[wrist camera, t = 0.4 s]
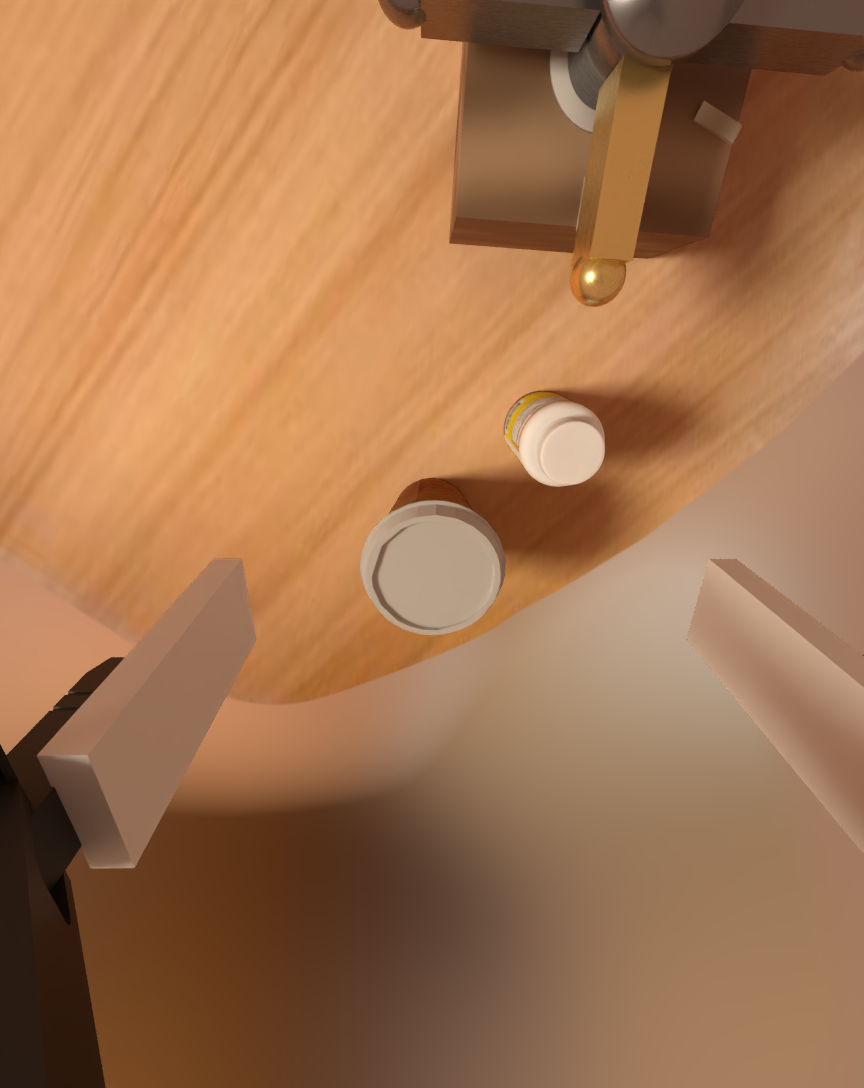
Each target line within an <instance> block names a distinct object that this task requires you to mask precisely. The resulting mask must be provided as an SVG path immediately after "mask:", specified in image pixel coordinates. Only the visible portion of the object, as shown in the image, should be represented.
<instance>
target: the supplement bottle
mask: <svg viewBox="0 0 864 1088" xmlns="http://www.w3.org/2000/svg"><path fill="white" fill-rule="evenodd" d="M504 437H505V440H506V443H507V445H508V447H509V448H510V450H511V451H512V452H513V454H514V455H515V456H516V458H517V459H518V460H519V462H520V463H521V464H522V466H523V467H524V468H525V470H526V471H527V472H528V473H529V474H530V475H531V476H532V477H533V478H534V479H536V480H537V481H539V482H540V483H543V484H545V485H549V486H556V487H560V486H567V485H575V484H579V483H582V482H584V481H586V480H588V479H589V478H591V477H592V476H593V475H594V474H595V473H596V472H597V471H598V469H599V468H600V466H601V464H602V462H603V460H604V456H605V435H604V430H603V427H602V424H601V422H600V420H599V419H598V417H597V416H596V415H595V414H594V413H593V412H592V411H591V410H590V409H588V408H587V407H585V406H583V405H581V404H579V403H576V402H574V401H572V400H569V399H567V398H564V397H562V396H560V395H557V394H555V393H552V392H548V391H535V392H531V393H528V394H526V395H524V396H522V397H521V398H519V399H518V400H517V401H516V402H515V403H514V404H513V405H512V406H511V408H510V409H509V411H508V413H507V415H506V418H505V422H504Z"/></svg>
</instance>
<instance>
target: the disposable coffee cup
mask: <svg viewBox="0 0 864 1088" xmlns="http://www.w3.org/2000/svg"><path fill="white" fill-rule="evenodd" d="M505 562H506V561H505V555H504V550H503V547H502V544H501V541H500V539H499V537H498V536H497V534H496V532H495V531H494V529H493V528H492V527H491V526H490V525H489V523H488V522H487V521H486V520H485V519H484V518H482V517H481V516H480V515H478V514H477V513H475V512H474V511H473V509H472V508H471V506H470V505H469V504H468V502H467V501H466V500H465V498H464V497H463V495H462V494H461V492H460V491H459V490H458V489H457V488H456V487H455V486H453V485H452V484H450V483H448V482H446V481H443V480H440V479H435V478H432V479H422V480H419V481H417V482H414V483H412V484H411V485H409V486H408V487H407V488H406V489H405V490H404V491H403V492H402V493H401V495H400V496H399V498H398V500H397V501H396V503H395V505H394V506H393V508H392V509H391V511H390V513H389V514H388V515H387V516H386V517H385V518H384V519H382V520H381V521H380V522H379V523H378V524H377V525H376V526H375V527H374V529H373V530H372V532H371V533H370V535H369V537H368V538H367V540H366V543H365V545H364V548H363V551H362V557H361V576H362V581H363V584H364V587H365V590H366V592H367V594H368V595H369V597H370V599H371V600H372V602H373V603H374V605H375V606H376V607H377V609H378V610H379V611H380V613H381V614H382V615H383V616H385V617H386V618H387V619H388V620H389V621H390V622H392V623H393V624H395V625H397V626H399V627H400V628H402V629H405V630H408V631H411V632H414V633H418V634H426V635H440V634H448V633H452V632H455V631H458V630H461V629H463V628H466V627H467V626H469V625H471V624H473V623H474V622H475V621H477V620H478V619H479V618H480V617H482V616H483V615H484V614H485V612H486V611H487V610H488V609H489V608H490V606H491V605H492V603H493V602H494V600H495V598H496V597H497V595H498V593H499V591H500V589H501V586H502V584H503V580H504V576H505Z"/></svg>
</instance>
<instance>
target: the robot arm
mask: <svg viewBox="0 0 864 1088" xmlns="http://www.w3.org/2000/svg"><path fill="white" fill-rule="evenodd" d="M687 641H688V642H689V643H690V644H691V645H692V647H693V648H694V649H695V650H696V652H697V653H698V654H699V655H700V656H701V658H702V659H703V660H704V661H705V662H706V664H707V665H708V666H709V667H710V669H711V670H712V671H713V672H714V673H715V675H716V676H717V677H718V678H719V679H720V680H721V682H722V683H723V684H724V686H725V687H726V688H727V689H728V690H729V692H730V693H731V694H732V695H733V696H734V697H735V699H736V700H737V701H738V702H739V703H740V705H741V706H742V707H743V708H744V710H745V711H746V712H747V713H748V715H749V716H750V717H751V718H752V719H753V721H755V723H756V724H757V725H758V727H759V728H760V729H761V730H762V732H763V733H764V734H765V735H766V736H767V737H768V739H769V740H770V741H771V742H772V744H773V745H774V746H775V747H776V748H777V750H778V751H779V752H780V753H781V755H782V756H783V757H784V758H785V759H786V761H787V762H788V763H789V764H790V765H791V767H792V768H793V769H794V770H795V772H796V773H797V774H798V775H799V776H800V778H801V779H802V780H803V781H804V782H805V784H806V785H807V786H808V787H809V788H810V790H811V791H812V792H813V793H814V795H815V796H816V797H817V798H818V799H819V801H820V802H821V803H822V804H823V805H824V807H825V808H826V809H827V810H828V811H829V813H830V814H831V815H832V816H833V818H834V819H835V820H836V821H837V822H838V824H839V825H840V826H841V827H842V828H843V830H844V831H845V832H846V833H847V834H848V836H849V837H850V838H851V839H852V840H853V842H854V843H855V844H856V845H857V846H858V848H859V849H860V850H861V852H862V853H863V854H864V655H862V654H860V653H859V652H858V651H856V650H855V649H854V648H853V647H851V646H850V645H848V644H847V643H846V642H845V641H843V640H842V639H840V638H839V637H838V636H837V635H835V634H834V633H833V632H831V631H830V630H829V629H827V628H826V627H825V626H824V625H822V624H821V623H819V622H818V621H817V620H816V619H814V618H813V617H812V616H810V615H809V614H808V613H806V612H805V611H804V610H802V609H801V608H800V607H799V606H797V605H796V604H794V603H793V602H792V601H791V600H789V599H788V598H787V597H785V596H784V595H783V594H781V593H780V592H779V591H777V590H776V589H775V588H774V587H772V586H771V585H769V584H768V583H767V582H766V581H764V580H763V579H762V578H760V577H759V576H758V575H756V574H755V573H754V572H752V571H751V570H750V569H748V568H747V567H746V566H745V565H743V564H742V563H740V562H739V561H738V560H737V559H709V561H708V565H707V569H706V572H705V576H704V579H703V583H702V586H701V590H700V594H699V597H698V601H697V604H696V607H695V611H694V614H693V618H692V621H691V625H690V628H689V632H688V636H687ZM255 642H256V635H255V629H254V624H253V618H252V613H251V607H250V602H249V596H248V591H247V585H246V580H245V574H244V569H243V563H242V559H213V560H212V561H211V562H210V563H209V565H208V566H207V567H206V568H205V569H204V570H203V571H202V572H201V573H200V575H199V576H198V577H197V578H196V579H195V580H194V581H193V582H192V583H191V585H190V586H189V587H188V588H187V589H186V590H185V591H184V592H183V593H182V595H181V596H180V597H179V598H178V599H177V600H176V601H175V602H174V603H173V605H172V606H171V607H170V608H169V609H168V610H167V611H166V612H165V613H164V615H163V616H162V617H161V618H160V619H159V620H158V621H157V622H156V623H155V625H154V626H153V627H152V628H151V629H150V630H149V631H148V632H147V633H146V635H145V636H144V637H143V638H142V639H141V640H140V641H139V642H138V643H137V645H136V646H135V647H134V648H133V649H132V650H131V651H130V652H129V654H128V655H127V656H126V657H123V658H122V657H120V658H119V657H117V658H115V657H111V658H110V659H108V660H106V661H105V662H103V663H101V664H100V665H98V666H97V667H96V668H93V669H92V670H90V671H89V672H87V673H86V674H85V675H84V676H83V677H82V678H81V679H80V680H79V681H78V682H77V683H76V684H75V685H74V686H73V687H72V688H71V689H70V690H69V691H68V692H69V693H68V695H65V696H64V697H63V698H62V699H61V700H60V701H59V702H58V703H57V704H56V705H55V706H54V709H53V711H49V712H48V713H47V714H46V715H45V716H44V717H43V718H42V719H41V720H40V721H39V722H38V723H37V724H36V725H35V726H34V727H33V729H31V731H30V732H29V733H28V734H27V735H26V736H25V737H24V738H23V739H22V740H21V741H20V742H19V743H18V744H17V745H16V746H15V747H14V748H13V749H12V750H11V751H10V752H9V753H8V754H7V755H5V752H4V751H3V749H2V747H1V745H0V1088H106V1087H105V1082H104V1076H103V1070H102V1064H101V1058H100V1052H99V1046H98V1040H97V1034H96V1028H95V1022H94V1017H93V1010H92V1004H91V998H90V993H89V987H88V980H87V974H86V968H85V963H84V957H83V951H82V945H81V939H80V933H79V927H78V921H77V915H76V909H75V903H74V898H73V892H72V886H71V880H70V879H69V876H68V875H67V873H66V871H65V870H66V868H67V867H68V865H69V864H70V862H71V861H72V859H73V858H74V856H75V855H76V853H77V852H78V850H79V849H80V847H81V849H82V852H83V854H84V856H85V857H86V860H87V862H88V864H89V866H90V868H135V866H136V864H137V862H138V860H139V858H140V856H141V855H142V853H143V851H144V849H145V847H146V845H147V843H148V842H149V840H150V838H151V836H152V834H153V832H154V830H155V829H156V827H157V825H158V823H159V821H160V819H161V817H162V815H163V813H164V812H165V810H166V808H167V806H168V804H169V802H170V800H171V798H172V797H173V795H174V793H175V791H176V789H177V787H178V786H179V784H180V782H181V780H182V778H183V776H184V774H185V772H186V770H187V769H188V767H189V765H190V763H191V761H192V759H193V757H194V756H195V754H196V752H197V750H198V748H199V746H200V744H201V743H202V741H203V739H204V737H205V735H206V733H207V731H208V729H209V728H210V726H211V724H212V722H213V720H214V718H215V716H216V714H217V713H218V710H219V709H220V707H221V705H222V703H223V701H224V700H225V698H226V696H227V694H228V692H229V690H230V688H231V686H232V685H233V683H234V681H235V679H236V677H237V675H238V673H239V671H240V670H241V668H242V666H243V664H244V662H245V660H246V658H247V657H248V655H249V653H250V651H251V649H252V647H253V645H254V643H255Z"/></svg>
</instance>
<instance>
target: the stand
mask: <svg viewBox="0 0 864 1088" xmlns="http://www.w3.org/2000/svg"><path fill="white" fill-rule="evenodd" d="M750 73H751V69H750V68H739V67H728V66H718V65H707V64H696V63H685V62H679V63H676V64H672V68H671V73H670V78H669V83H668V88H667V93H666V98H665V103H664V108H663V113H662V118H661V123H660V127H659V132H658V137H657V142H656V147H655V152H654V157H653V162H652V167H651V172H650V177H649V182H648V187H647V192H646V197H645V202H644V207H643V212H642V216H641V221H640V226H639V231H638V236H637V241H636V246H635V251H634V256H633V257H634V258H650V257H652V256H655V255H658V254H661V253H664V252H667V251H670V250H673V249H676V248H679V247H681V246H684V245H687V244H690V243H693V242H696V241H699V240H702V239H705V238H707V237H709V234H710V230H711V226H712V222H713V218H714V214H715V211H716V207H717V203H718V199H719V195H720V191H721V187H722V183H723V179H724V175H725V171H726V167H727V163H728V159H729V155H730V151H731V147H732V144H733V142H734V140H735V138H736V137H737V135H738V133H739V131H740V129H741V127H742V126H743V125H742V124H740V123H738V120H739V116H740V112H741V108H742V104H743V100H744V96H745V92H746V88H747V84H748V80H749V77H750ZM595 112H596V110H593V109H591V108H590V107H588V106H587V105H585V104H584V103H583V102H582V101H581V100H580V99H579V97H578V96H577V94H576V93H575V91H574V89H573V86H572V84H571V81H570V76H569V71H568V52H567V51H557V50H546V49H535V48H525V47H514V46H503V45H492V44H482V43H471V42H463V45H462V60H461V75H460V90H459V105H458V120H457V135H456V150H455V164H454V179H453V194H452V209H451V224H450V239H449V243H453V244H466V245H479V246H492V247H505V248H518V249H531V250H544V251H557V252H569V253H573V252H574V245H575V239H576V233H577V226H578V220H579V214H580V207H581V201H582V195H583V188H584V182H585V176H586V169H587V163H588V157H589V150H590V144H591V138H592V131H593V125H594V119H595Z"/></svg>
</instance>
